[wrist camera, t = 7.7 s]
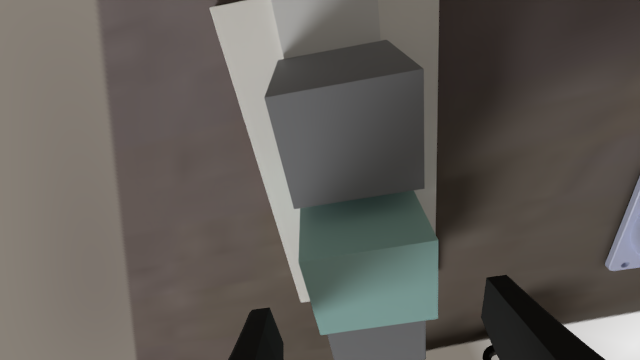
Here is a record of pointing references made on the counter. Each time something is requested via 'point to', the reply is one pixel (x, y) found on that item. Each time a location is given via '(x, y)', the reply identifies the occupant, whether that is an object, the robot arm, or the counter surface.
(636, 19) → the counter surface
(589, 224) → the counter surface
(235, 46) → the rail plate
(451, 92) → the counter surface
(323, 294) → the block
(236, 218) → the counter surface
